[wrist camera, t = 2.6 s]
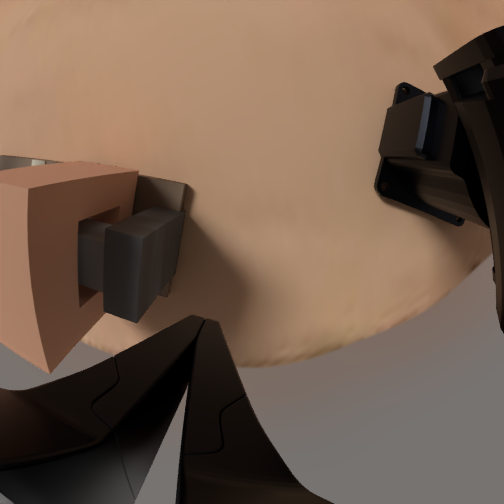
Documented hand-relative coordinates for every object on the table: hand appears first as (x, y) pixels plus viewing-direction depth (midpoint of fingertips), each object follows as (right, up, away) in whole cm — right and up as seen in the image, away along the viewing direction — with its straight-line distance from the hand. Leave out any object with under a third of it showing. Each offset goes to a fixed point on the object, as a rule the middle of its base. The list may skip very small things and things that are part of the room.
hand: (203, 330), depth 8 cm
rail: (-10, +5, +7) cm, 13 cm away
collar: (-7, +4, +7) cm, 10 cm away
